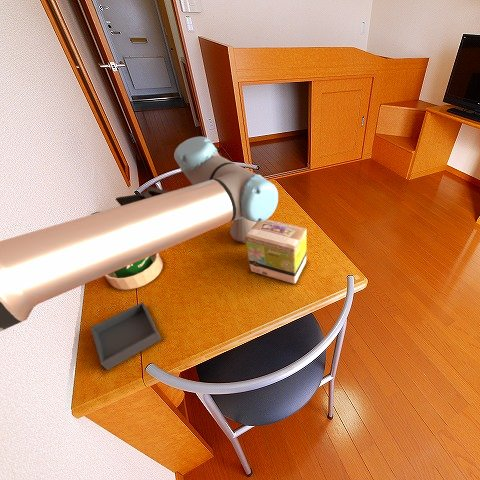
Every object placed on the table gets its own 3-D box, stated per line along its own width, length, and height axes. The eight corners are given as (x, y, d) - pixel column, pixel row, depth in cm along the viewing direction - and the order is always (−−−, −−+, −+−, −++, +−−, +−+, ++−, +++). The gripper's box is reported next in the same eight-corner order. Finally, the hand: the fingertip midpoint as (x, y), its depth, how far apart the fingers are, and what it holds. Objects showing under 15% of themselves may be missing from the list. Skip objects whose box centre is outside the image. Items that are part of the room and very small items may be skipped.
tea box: (249, 272, 84) (242, 235, 75) (264, 251, 91) (260, 215, 82) (295, 285, 81) (294, 248, 71) (307, 262, 88) (307, 226, 79)
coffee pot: (263, 224, 103) (259, 189, 93) (265, 245, 94) (260, 208, 84) (203, 230, 99) (192, 194, 89) (199, 252, 90) (187, 215, 81)
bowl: (116, 297, 76) (108, 287, 73) (104, 268, 83) (97, 258, 81) (169, 273, 83) (164, 263, 80) (154, 249, 91) (149, 238, 88)
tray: (107, 370, 61) (100, 364, 59) (96, 334, 67) (90, 327, 65) (161, 339, 67) (157, 332, 65) (147, 308, 73) (142, 302, 71)
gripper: (176, 260, 58) (87, 270, 61) (209, 190, 75) (138, 200, 78) (155, 236, 53) (59, 248, 55) (196, 166, 70) (120, 177, 72)
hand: (105, 220), depth 66 cm, fingers open, 13 cm apart
